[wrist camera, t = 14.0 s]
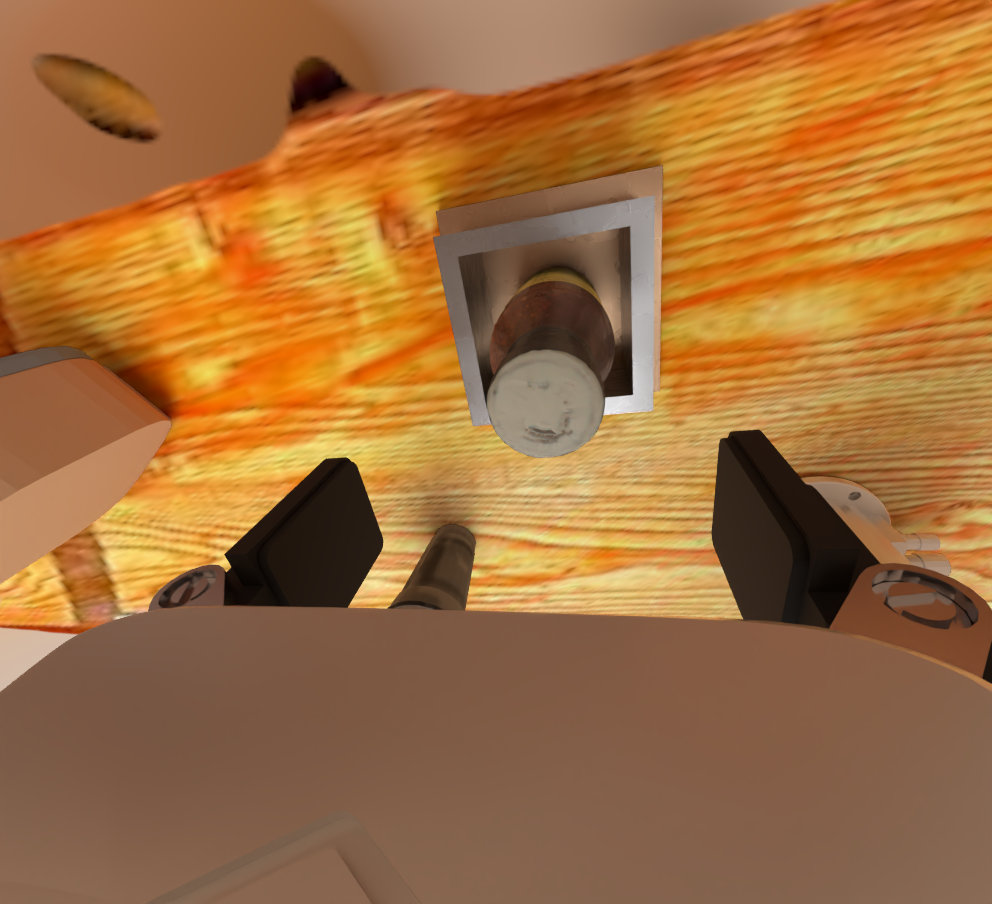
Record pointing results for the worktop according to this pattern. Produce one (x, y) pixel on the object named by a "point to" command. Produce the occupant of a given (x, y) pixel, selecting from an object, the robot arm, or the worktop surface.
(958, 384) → the worktop surface
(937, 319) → the worktop surface
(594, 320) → the sauce bottle
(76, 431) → the alarm clock
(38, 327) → the worktop surface
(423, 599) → the beverage cup
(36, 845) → the robot arm
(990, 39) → the worktop surface
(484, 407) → the grey square open box
